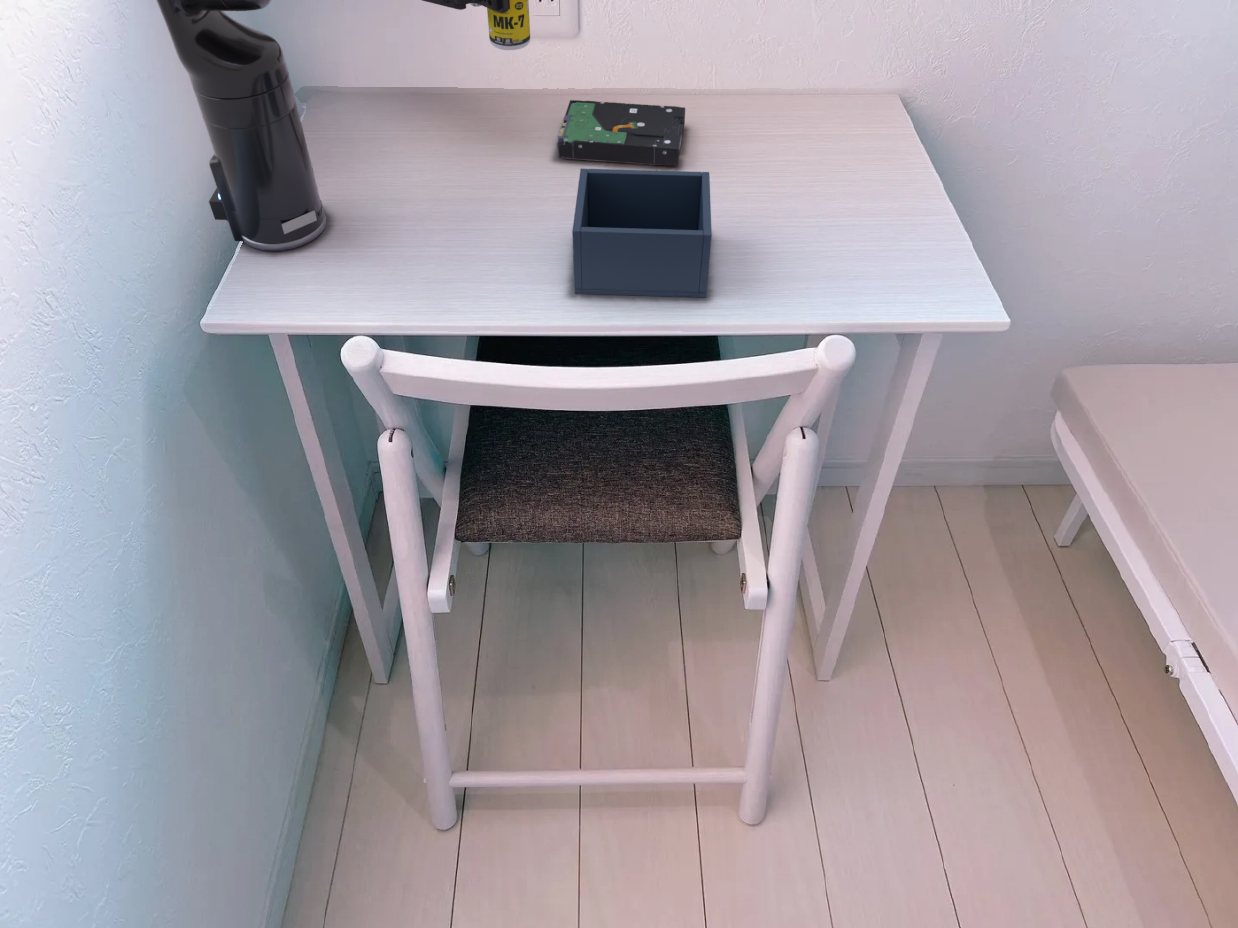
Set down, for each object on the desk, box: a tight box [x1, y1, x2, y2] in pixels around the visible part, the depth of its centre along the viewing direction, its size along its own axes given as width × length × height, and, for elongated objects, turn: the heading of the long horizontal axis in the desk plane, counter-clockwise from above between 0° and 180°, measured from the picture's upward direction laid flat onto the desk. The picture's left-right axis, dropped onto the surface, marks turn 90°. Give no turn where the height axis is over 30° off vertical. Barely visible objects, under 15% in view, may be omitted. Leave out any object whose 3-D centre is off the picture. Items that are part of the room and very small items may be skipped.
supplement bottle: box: [486, 0, 531, 51], centre depth 112 cm, size 5×5×8 cm
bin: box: [572, 168, 713, 298], centre depth 102 cm, size 14×12×8 cm
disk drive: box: [556, 99, 686, 166], centre depth 121 cm, size 10×3×15 cm
